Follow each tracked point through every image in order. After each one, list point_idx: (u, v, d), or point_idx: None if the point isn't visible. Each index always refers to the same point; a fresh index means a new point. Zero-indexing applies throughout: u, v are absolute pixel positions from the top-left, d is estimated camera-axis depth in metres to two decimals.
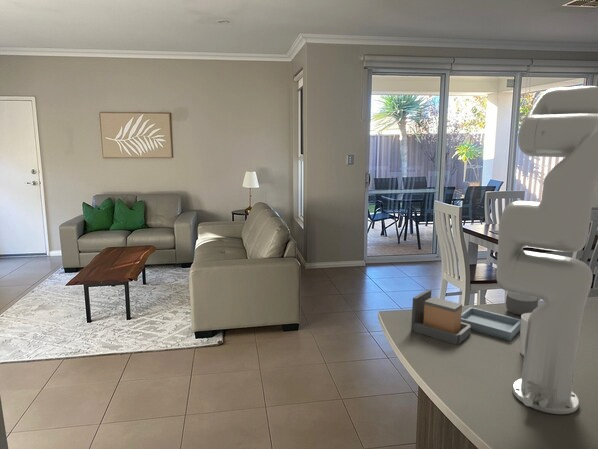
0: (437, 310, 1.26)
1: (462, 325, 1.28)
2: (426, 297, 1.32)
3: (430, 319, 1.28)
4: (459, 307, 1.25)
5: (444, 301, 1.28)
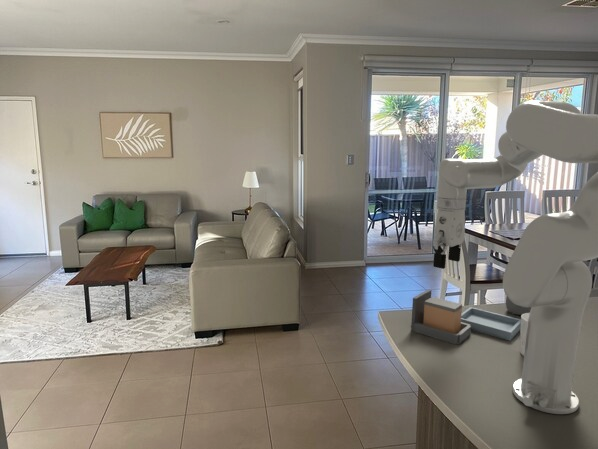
0: (437, 310, 1.26)
1: (462, 325, 1.28)
2: (426, 297, 1.32)
3: (430, 319, 1.28)
4: (459, 307, 1.25)
5: (444, 301, 1.28)
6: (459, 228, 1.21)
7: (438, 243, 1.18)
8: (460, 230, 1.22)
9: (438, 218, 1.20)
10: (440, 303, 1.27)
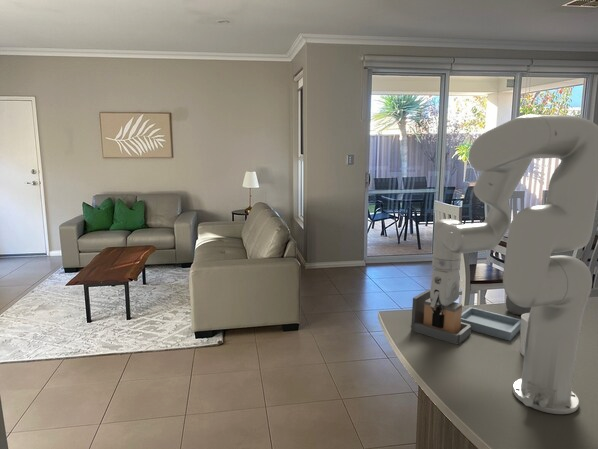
0: None
1: (462, 325, 1.28)
2: (426, 297, 1.32)
3: (430, 319, 1.28)
4: (459, 307, 1.25)
5: None
6: (454, 287, 1.24)
7: (435, 307, 1.22)
8: (455, 288, 1.25)
9: (433, 278, 1.23)
10: None
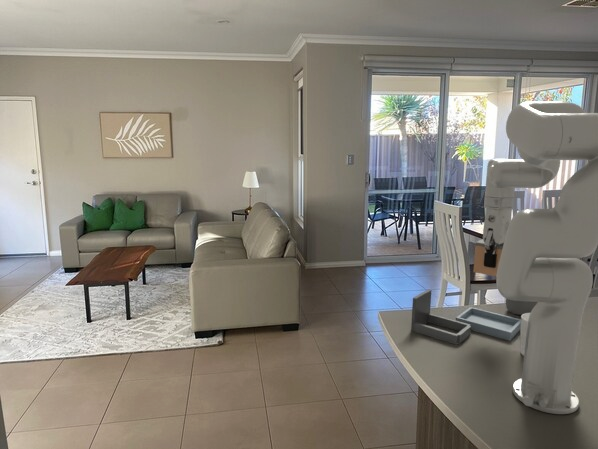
0: None
1: (462, 325, 1.28)
2: (426, 297, 1.32)
3: (481, 260, 1.28)
4: None
5: None
6: (506, 226, 1.25)
7: (489, 245, 1.22)
8: (507, 228, 1.25)
9: (487, 216, 1.23)
10: None
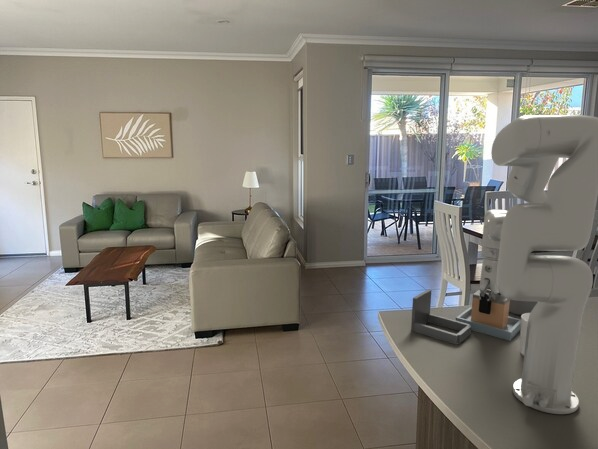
0: None
1: (462, 325, 1.28)
2: (426, 297, 1.32)
3: (478, 312, 1.31)
4: (508, 300, 1.28)
5: (492, 294, 1.32)
6: None
7: (485, 291, 1.24)
8: None
9: (484, 266, 1.26)
10: None
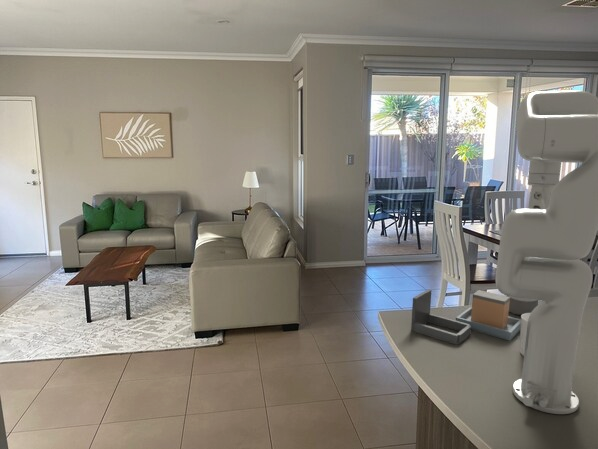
0: (486, 303, 1.29)
1: (462, 325, 1.28)
2: (426, 297, 1.32)
3: (478, 312, 1.31)
4: (508, 300, 1.28)
5: (492, 294, 1.32)
6: None
7: None
8: None
9: (532, 194, 1.19)
10: (488, 296, 1.30)
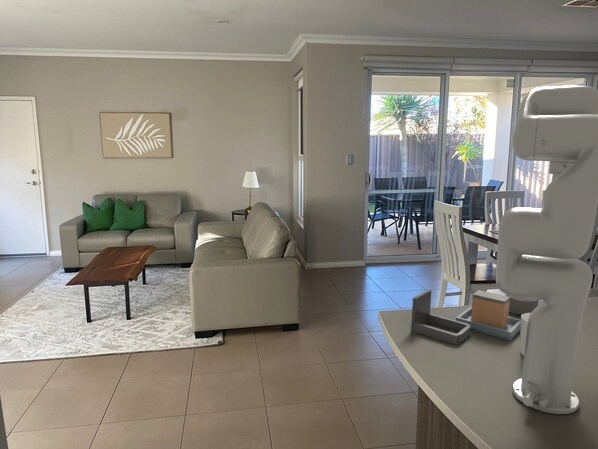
0: (486, 303, 1.29)
1: (462, 325, 1.28)
2: (426, 297, 1.32)
3: (478, 312, 1.31)
4: (508, 300, 1.28)
5: (492, 294, 1.32)
6: None
7: None
8: None
9: None
10: (488, 296, 1.30)
